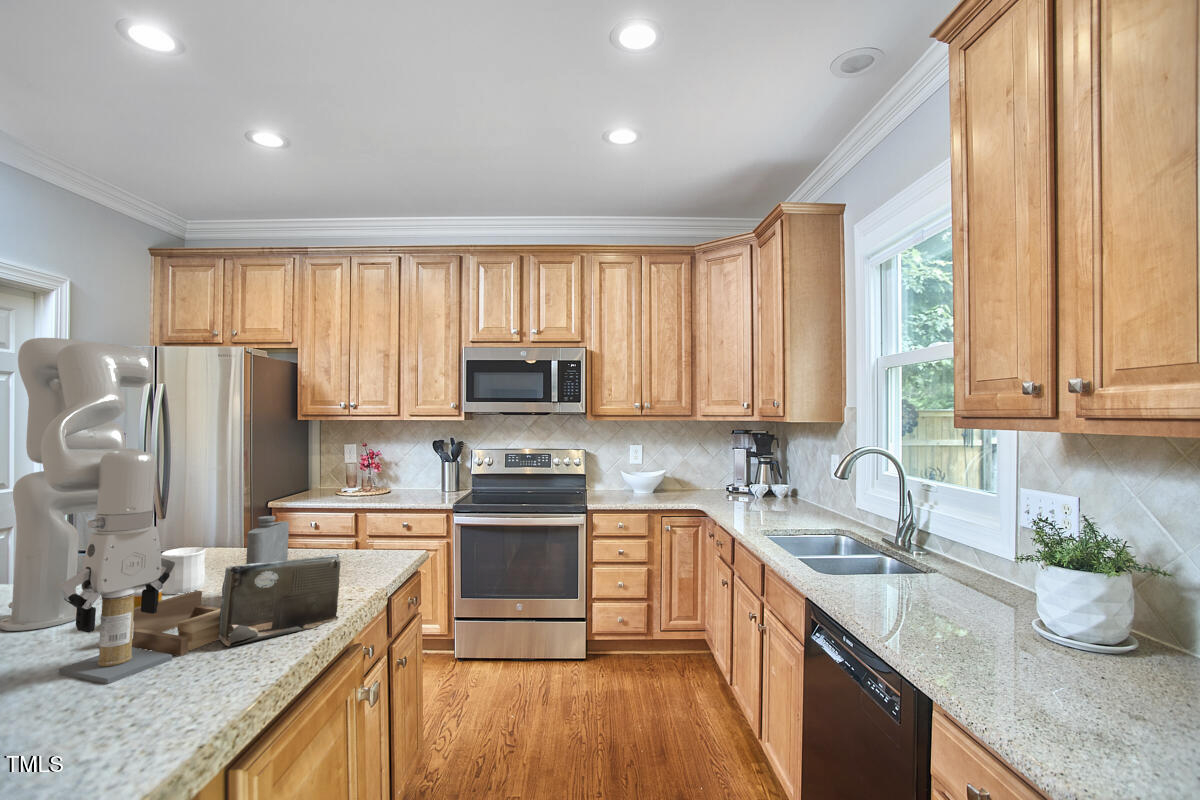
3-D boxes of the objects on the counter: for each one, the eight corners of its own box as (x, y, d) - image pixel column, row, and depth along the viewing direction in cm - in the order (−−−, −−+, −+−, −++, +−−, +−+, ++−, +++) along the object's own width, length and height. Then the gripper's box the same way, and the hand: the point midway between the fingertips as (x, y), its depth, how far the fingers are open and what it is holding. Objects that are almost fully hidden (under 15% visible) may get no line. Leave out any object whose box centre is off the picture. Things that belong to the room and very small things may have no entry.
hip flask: (256, 611, 125) (260, 521, 126) (237, 611, 124) (241, 522, 125) (288, 590, 140) (291, 511, 141) (271, 591, 140) (274, 511, 141)
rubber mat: (58, 673, 93) (58, 668, 93) (125, 650, 102) (125, 646, 102) (107, 684, 89) (107, 678, 89) (171, 659, 99) (172, 654, 99)
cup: (197, 582, 147) (198, 545, 148) (212, 588, 141) (213, 550, 142) (152, 590, 139) (154, 551, 140) (166, 597, 134) (168, 557, 134)
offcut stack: (172, 648, 103) (173, 624, 104) (227, 628, 114) (228, 606, 114) (187, 651, 102) (188, 626, 102) (242, 630, 113) (243, 608, 113)
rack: (116, 644, 105) (118, 612, 105) (195, 618, 119) (196, 590, 120) (180, 656, 100) (182, 622, 100) (254, 628, 114) (256, 598, 115)
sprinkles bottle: (135, 654, 98) (139, 578, 99) (127, 664, 94) (132, 584, 95) (102, 659, 96) (106, 581, 97) (92, 669, 92) (97, 587, 93)
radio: (337, 611, 125) (339, 545, 126) (351, 621, 119) (354, 551, 120) (213, 638, 109) (217, 561, 110) (223, 651, 103) (226, 569, 104)
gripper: (80, 532, 88) (72, 642, 87) (190, 516, 104) (184, 608, 103) (49, 529, 90) (41, 636, 89) (161, 513, 106) (156, 603, 106)
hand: (118, 621), depth 96 cm, fingers open, 9 cm apart
